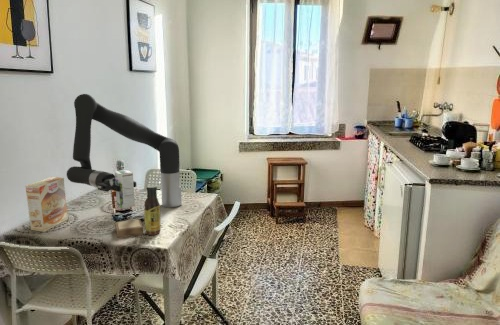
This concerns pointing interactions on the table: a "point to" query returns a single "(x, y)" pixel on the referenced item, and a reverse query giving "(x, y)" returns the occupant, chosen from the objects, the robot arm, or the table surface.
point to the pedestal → (129, 228)
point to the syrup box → (124, 189)
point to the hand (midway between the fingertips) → (128, 186)
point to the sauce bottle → (152, 211)
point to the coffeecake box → (46, 203)
